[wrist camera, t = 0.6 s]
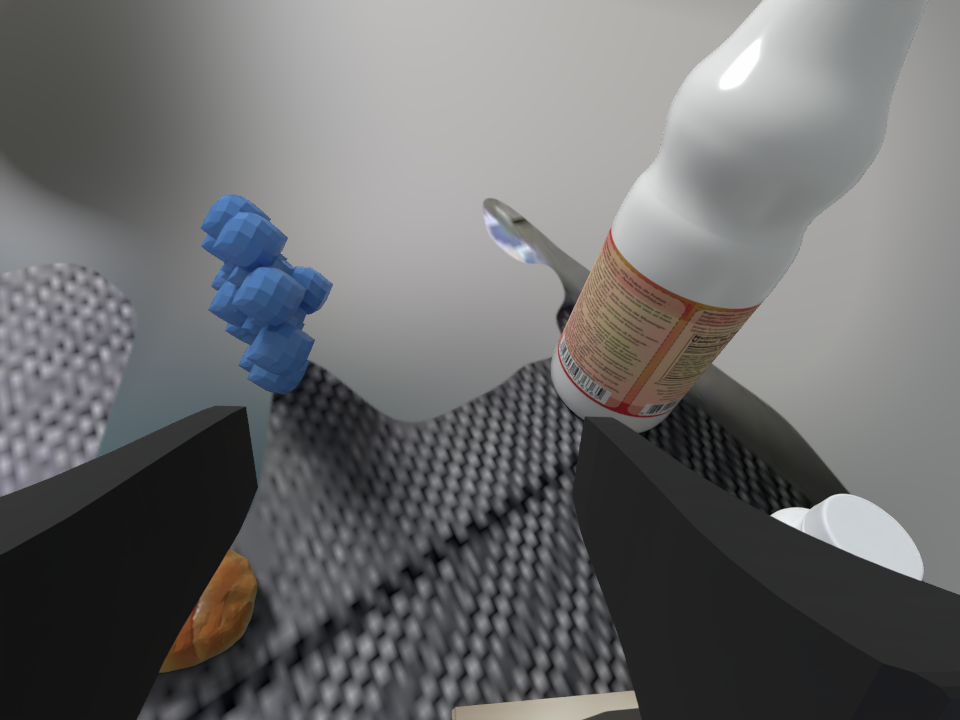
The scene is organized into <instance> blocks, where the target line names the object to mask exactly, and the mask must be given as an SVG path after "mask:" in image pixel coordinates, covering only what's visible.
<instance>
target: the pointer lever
mask: <svg viewBox="0 0 960 720" xmlns="http://www.w3.org/2000/svg"><path fill="white" fill-rule="evenodd" d="M583 720H642V719H641V715H640V711H639V708H633V709H623V710H614V711H606V712H603V713H600V714H597V715H594V716H591V717H589V718H586V719H583Z"/></svg>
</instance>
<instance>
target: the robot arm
mask: <svg viewBox="0 0 960 720" xmlns="http://www.w3.org/2000/svg"><path fill="white" fill-rule="evenodd" d="M257 488H258V485H257V478H256V471H255V465H254V458H253V451H252V445H251V438H250V432H249V424H248V418H247V412H246V407H240V406H214V407H211V408H208V409H205V410H202V411H200V412H197V413H195V414H193V415H190V416H188V417H186V418H184V419H181V420H179V421H177V422H175V423H173V424H170V425H168V426H166V427H164V428H162V429H160V430H157V431H155V432H153V433H151V434H149V435H147V436H145V437H142V438H140V439H138V440H136V441H134V442H132V443H129V444H127V445H125V446H123V447H121V448H119V449H117V450H115V451H112V452H110V453H108V454H105V455H103V456H100V457H98V458H96V459H94V460H91V461H89V462H87V463H84V464H82V465H80V466H77V467H75V468H73V469H70V470H68V471H66V472H63V473H61V474H59V475H56V476H54V477H52V478H49V479H47V480H44V481H42V482H39V483H37V484H34V485H32V486H29V487H26V488H24V489H21V490H19V491H16V492H13V493H11V494H8V495H5V496H2V497H0V720H137V717H138V715H139V713H140V711H141V709H142V707H143V705H144V703H145V700H146V698H147V696H148V694H149V692H150V690H151V688H152V686H153V684H154V681H155V679H156V677H157V675H158V673H159V671H160V669H161V667H162V665H163V662H164V660H165V658H166V657H167V655H168V653H169V651H170V649H171V647H172V646H173V644H174V642H175V640H176V638H177V636H178V635H179V633H180V631H181V629H182V628H183V626H184V624H185V623H186V621H187V619H188V618H189V616H190V614H191V613H192V611H193V609H194V608H195V606H196V604H197V603H198V601H199V599H200V597H201V596H202V594H203V592H204V591H205V589H206V587H207V586H208V584H209V582H210V581H211V579H212V577H213V576H214V574H215V572H216V571H217V569H218V567H219V566H220V564H221V562H222V561H223V559H224V557H225V555H226V554H227V552H228V550H229V549H230V547H231V545H232V543H233V542H234V540H235V538H236V536H237V535H238V533H239V531H240V529H241V527H242V525H243V522H244V520H245V518H246V516H247V513H248V511H249V508H250V506H251V503H252V501H253V498H254V496H255V493H256V491H257ZM572 494H573V499H574V504H575V509H576V513H577V518H578V522H579V526H580V531H581V535H582V537H583V540H584V543H585V546H586V549H587V552H588V554H589V557H590V560H591V563H592V565H593V568H594V571H595V574H596V576H597V579H598V582H599V584H600V587H601V590H602V592H603V595H604V598H605V600H606V603H607V606H608V609H609V611H610V614H611V617H612V619H613V622H614V625H615V627H616V630H617V633H618V636H619V639H620V642H621V645H622V648H623V651H624V655H625V658H626V662H627V665H628V669H629V673H630V677H631V681H632V684H633V688H634V692H635V696H636V700H637V703H638V707H639V711H640V715H641V719H642V720H960V595H958V594H955V593H952V592H950V591H947V590H944V589H942V588H939V587H936V586H934V585H931V584H928V583H925V582H923V581H920V580H917V579H915V578H912V577H909V576H907V575H904V574H901V573H898V572H896V571H893V570H891V569H888V568H886V567H883V566H881V565H878V564H876V563H873V562H871V561H868V560H866V559H863V558H861V557H858V556H856V555H854V554H851V553H849V552H847V551H845V550H842V549H840V548H838V547H836V546H833V545H831V544H829V543H826V542H824V541H822V540H820V539H817V538H815V537H813V536H811V535H809V534H806V533H804V532H802V531H800V530H798V529H796V528H794V527H792V526H790V525H788V524H786V523H784V522H782V521H780V520H778V519H776V518H774V517H772V516H770V515H768V514H766V513H764V512H763V511H761V510H759V509H757V508H755V507H753V506H751V505H749V504H747V503H746V502H744V501H742V500H740V499H738V498H737V497H735V496H733V495H731V494H730V493H728V492H726V491H725V490H723V489H722V488H720V487H718V486H717V485H715V484H713V483H712V482H710V481H708V480H707V479H705V478H703V477H702V476H700V475H699V474H697V473H696V472H694V471H693V470H691V469H689V468H688V467H686V466H685V465H683V464H682V463H680V462H679V461H677V460H676V459H674V458H673V457H671V456H670V455H668V454H667V453H666V452H664V451H663V450H661V449H660V448H658V447H657V446H655V445H654V444H653V443H651V442H650V441H648V440H647V439H645V438H644V437H642V436H641V435H640V434H638V433H637V432H635V431H634V430H632V429H631V428H629V427H628V426H626V425H625V424H623V423H622V422H620V421H618V420H616V419H615V418H613V417H589V416H585V418H584V424H583V430H582V436H581V442H580V449H579V455H578V461H577V467H576V473H575V480H574V486H573V492H572Z"/></svg>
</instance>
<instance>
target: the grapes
mask: <svg viewBox="0 0 960 720" xmlns="http://www.w3.org/2000/svg"><path fill="white" fill-rule="evenodd" d="M270 220H271V219H270V218H269V217H268V216H267V215H266V214H265V213H264V212H262V211H261V210H260V209H259V208H258V207H257V206H256V205H254V204H253V203H252V202H250V201H249V200H247V199H245V198H244V197H242V196H238V195H224V196H223V197H222V198H220V199H219V200H218V201H217V202H216V203H215V204H214V205H213V206H212V207H211V209H210V211H209V212H208V214H207V216H206V218H205V220H204V222H203V224H202V226H201V229H203V230H204V231H205V232H206V233H207V236H206V238H205V240H204V242H203V244H202V247H203V248H204V249H206V250H207V251H208V252H209V253H211V254H212V255H214V256H215V257H217V258H219V259H220V260H222V261H223V262H225V263H224V265H223V266H222V267H221V269H220V270H219V272H218V274H217V275H216V277H215V279H214V281H213V283H212V287H213V288H214V289H216V290H217V291H218V292H217V294H216V295H215V297H214V299H213V301H212V303H211V305H210V307H209V309H208V310H209V311H211V312H212V313H213V314H215V315H216V316H218V317H219V318H221V319H223V320H224V321H226V322H228V325H227V327H226V329H225V331H227V332H228V333H230V334H231V335H233V336H234V337H236V338H238V339H239V340H241V341H243V342H245V343H248V344H250V345H249V347H248V348H247V350H246V351H245V353H244V355H243V357H242V359H241V361H240V364H239V366H240V367H242V368H243V369H245V370H247V371H248V372H250V374H249V376H248V378H247V379H248V380H250V381H252V382H253V383H255V384H257V385H258V386H260V387H262V388H263V389H265V390H267V391H270V392H273V393H278V394H283V395H284V394H286V393H288V392H291V391H292V390H294V389H295V388H296V387H297V386H298V384H299V383H300V382H301V380H302V378H303V376H304V374H305V371H306V369H307V366H308V364H309V361H308V360H307V358H308V356H309V353H310V351H311V349H312V346H313V344H314V341H315V340H314V339H313V338H312V337H310V336H309V335H308V334H306V333H305V332H303V331H302V328H303V326H304V323H303V321H304V318H305V316H306V314H312V313H314V312H315V311H317V310H319V309H321V307H322V306H323V304H324V303H325V301H326V300H327V297H328V295H329V293H330V291H331V288H332V285H333V284H332V283H330V282H329V281H328V280H327V279H326V278H325V277H324V276H322V275H321V274H320V273H318V272H317V271H315V270H313V269H312V268H310V267H301V266H297V267H293V266H292V265H291V264H289V263H288V262H287V261H286V260H287V258H285V257H284V256H283V255H282V254H280V253H281V251H282V250H283V248H284V245H285V243H286V241H287V237H286V236H285V235H284V234H283V233H282V232H281V231H280V230H279V229H278V228H276V227H275V226H274V225H273V224H272V223H271V222H270Z"/></svg>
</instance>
